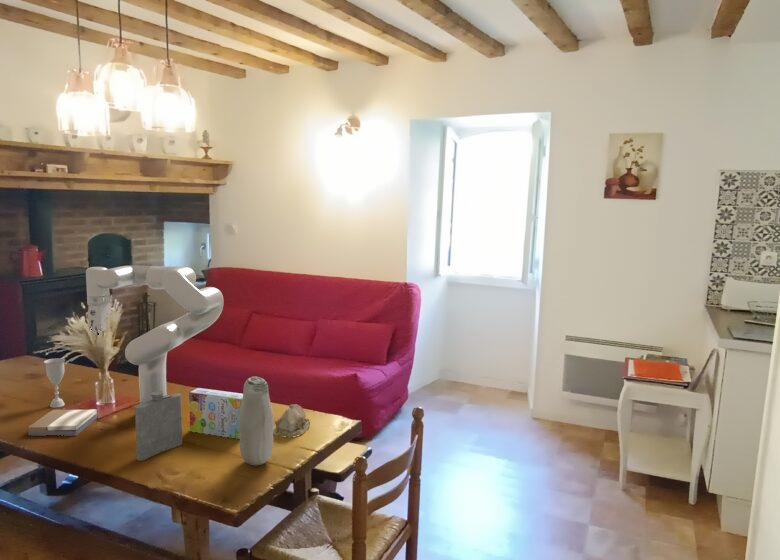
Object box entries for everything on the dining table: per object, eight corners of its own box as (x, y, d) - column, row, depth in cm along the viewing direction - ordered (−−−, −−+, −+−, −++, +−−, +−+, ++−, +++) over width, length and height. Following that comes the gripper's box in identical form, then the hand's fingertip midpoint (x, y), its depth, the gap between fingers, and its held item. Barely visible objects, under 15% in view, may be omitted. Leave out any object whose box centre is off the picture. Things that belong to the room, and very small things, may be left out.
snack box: (250, 434, 197) (250, 393, 195) (241, 440, 191) (241, 399, 189) (198, 426, 202) (197, 386, 200) (188, 432, 197) (187, 391, 195)
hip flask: (140, 461, 174) (138, 400, 171) (133, 457, 177) (130, 398, 174) (184, 444, 188) (182, 387, 185) (176, 440, 190) (175, 384, 187)
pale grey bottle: (279, 462, 177) (279, 378, 172) (251, 473, 169) (251, 385, 165) (260, 452, 183) (260, 370, 179) (233, 462, 176) (232, 377, 171)
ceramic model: (292, 441, 193) (293, 413, 191) (266, 434, 197) (266, 407, 196) (315, 426, 205) (315, 401, 204) (290, 420, 210) (290, 395, 208)
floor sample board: (97, 417, 207) (97, 409, 206) (76, 435, 191) (75, 427, 191) (53, 417, 206) (53, 409, 206) (28, 435, 190) (27, 427, 190)
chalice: (71, 402, 221) (69, 358, 218) (60, 408, 214) (57, 364, 211) (54, 401, 221) (52, 357, 219) (42, 407, 215) (39, 362, 212)
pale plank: (96, 413, 206) (96, 409, 206) (76, 429, 191) (75, 425, 191) (70, 413, 206) (69, 409, 205) (47, 430, 191) (47, 426, 191)
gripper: (99, 304, 200) (101, 353, 203) (117, 296, 215) (119, 342, 218) (78, 303, 200) (80, 352, 202) (97, 296, 215) (99, 342, 217)
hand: (100, 347), depth 210 cm, fingers closed
